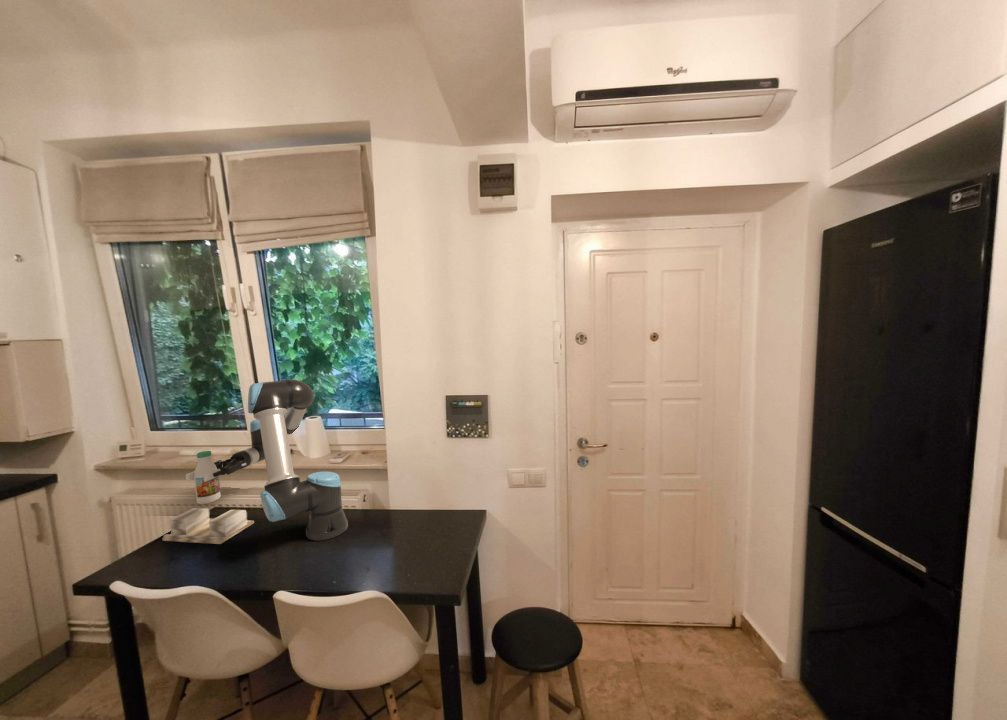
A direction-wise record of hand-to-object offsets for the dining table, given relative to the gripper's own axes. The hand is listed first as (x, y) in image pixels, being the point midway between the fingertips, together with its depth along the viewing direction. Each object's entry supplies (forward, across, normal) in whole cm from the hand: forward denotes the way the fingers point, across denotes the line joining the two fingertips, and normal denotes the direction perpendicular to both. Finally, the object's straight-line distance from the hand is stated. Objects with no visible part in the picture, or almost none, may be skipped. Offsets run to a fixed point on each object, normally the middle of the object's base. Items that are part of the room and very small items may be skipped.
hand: (195, 478), depth 147 cm
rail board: (-4, 0, -24) cm, 24 cm away
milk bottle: (-4, 0, -11) cm, 12 cm away
